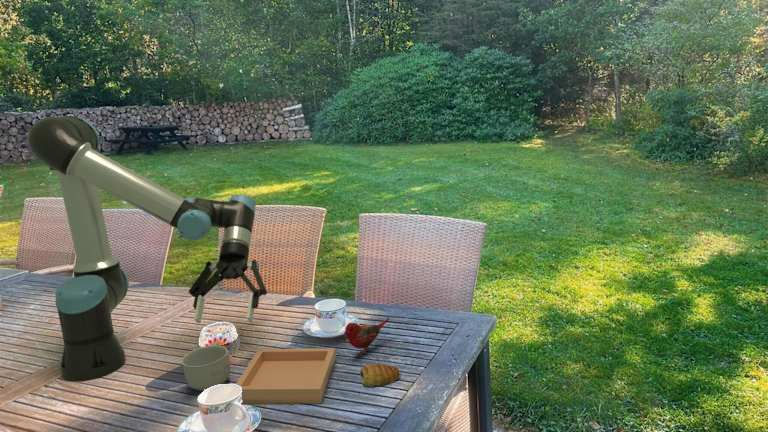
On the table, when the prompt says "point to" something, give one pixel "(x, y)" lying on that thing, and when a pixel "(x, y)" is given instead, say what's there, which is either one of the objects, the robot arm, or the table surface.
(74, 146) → the robot arm
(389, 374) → the pastry
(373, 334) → the decorative bird figurine
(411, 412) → the table surface
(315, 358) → the shallow wooden tray
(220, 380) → the teacup
